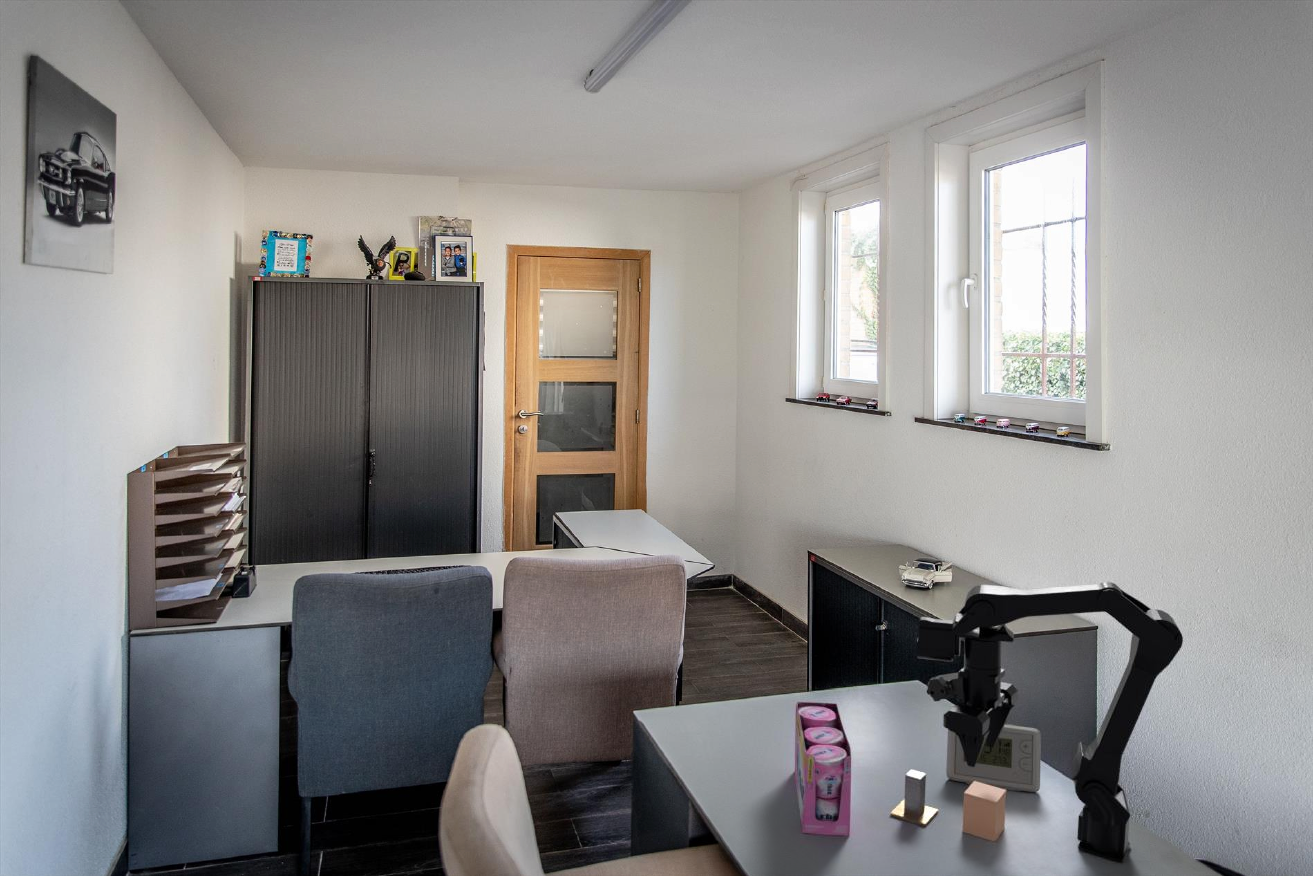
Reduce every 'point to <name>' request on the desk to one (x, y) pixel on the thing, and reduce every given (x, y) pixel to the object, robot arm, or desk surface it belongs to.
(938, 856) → the desk surface
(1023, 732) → the digital clock
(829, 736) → the gum box
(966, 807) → the tan cardboard box
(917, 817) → the post on square base
